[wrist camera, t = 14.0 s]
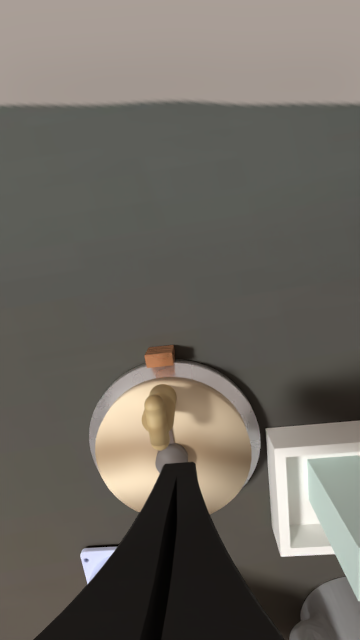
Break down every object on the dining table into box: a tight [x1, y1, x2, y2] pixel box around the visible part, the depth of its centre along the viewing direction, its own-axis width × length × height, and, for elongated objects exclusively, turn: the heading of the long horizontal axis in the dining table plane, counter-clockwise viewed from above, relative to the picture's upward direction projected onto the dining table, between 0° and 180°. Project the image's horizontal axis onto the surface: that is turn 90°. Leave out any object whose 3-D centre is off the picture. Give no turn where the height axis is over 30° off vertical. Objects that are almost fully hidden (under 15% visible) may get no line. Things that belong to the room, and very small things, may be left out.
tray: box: [265, 421, 360, 557], centre depth 22 cm, size 10×10×2 cm
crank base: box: [89, 345, 260, 489], centre depth 22 cm, size 15×14×2 cm
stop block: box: [307, 455, 360, 601], centre depth 19 cm, size 4×4×7 cm
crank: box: [95, 377, 252, 514], centre depth 19 cm, size 13×12×5 cm
